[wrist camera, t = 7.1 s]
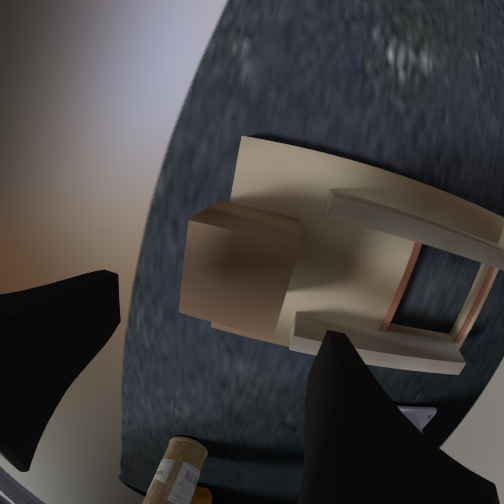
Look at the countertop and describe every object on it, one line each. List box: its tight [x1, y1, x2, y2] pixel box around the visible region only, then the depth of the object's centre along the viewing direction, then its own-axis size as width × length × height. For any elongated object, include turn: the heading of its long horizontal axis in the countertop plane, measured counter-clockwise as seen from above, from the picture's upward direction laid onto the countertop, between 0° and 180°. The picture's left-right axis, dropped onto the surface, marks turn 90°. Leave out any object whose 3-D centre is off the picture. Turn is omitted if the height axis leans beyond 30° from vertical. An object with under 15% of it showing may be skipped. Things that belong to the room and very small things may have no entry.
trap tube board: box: [211, 136, 504, 375], centre depth 15 cm, size 12×18×4 cm, turn 79°
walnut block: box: [179, 200, 301, 338], centre depth 14 cm, size 4×4×4 cm
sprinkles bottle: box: [143, 436, 208, 504], centre depth 20 cm, size 5×5×14 cm
